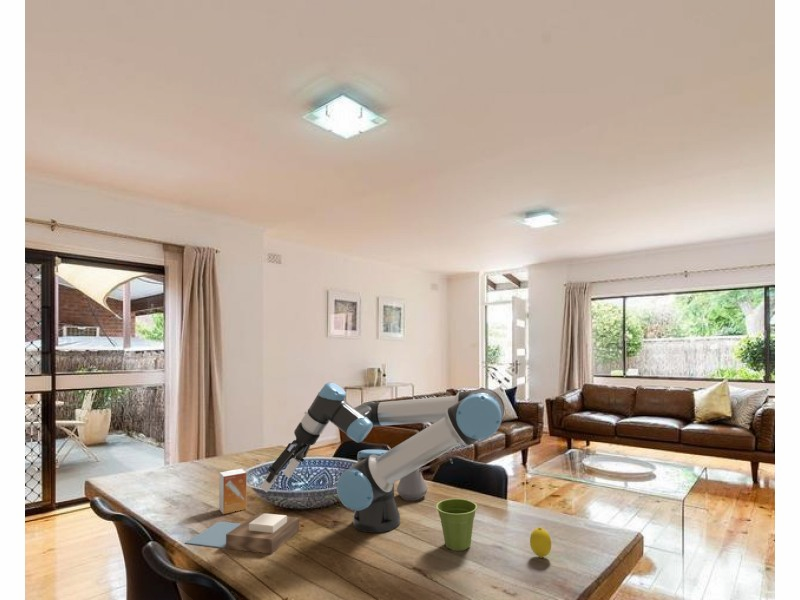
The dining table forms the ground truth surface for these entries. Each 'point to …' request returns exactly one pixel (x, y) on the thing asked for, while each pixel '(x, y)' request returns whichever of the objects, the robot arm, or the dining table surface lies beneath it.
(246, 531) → the riser board
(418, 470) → the coffee pot
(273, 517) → the ceramic tile
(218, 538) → the mat
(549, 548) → the lemon
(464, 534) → the plant pot
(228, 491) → the small box
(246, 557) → the dining table surface
